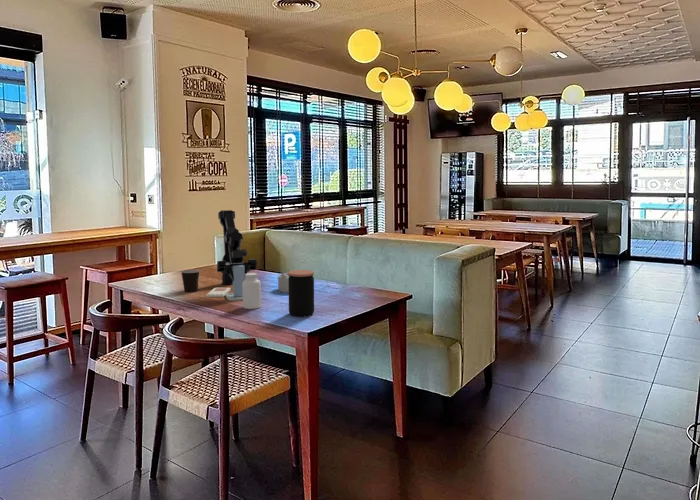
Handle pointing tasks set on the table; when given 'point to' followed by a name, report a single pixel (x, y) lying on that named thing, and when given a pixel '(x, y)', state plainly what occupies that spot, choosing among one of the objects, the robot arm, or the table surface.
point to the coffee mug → (190, 280)
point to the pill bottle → (251, 291)
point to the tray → (233, 297)
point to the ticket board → (218, 292)
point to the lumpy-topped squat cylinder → (283, 282)
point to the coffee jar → (301, 293)
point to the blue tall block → (238, 279)
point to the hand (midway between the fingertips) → (239, 279)
